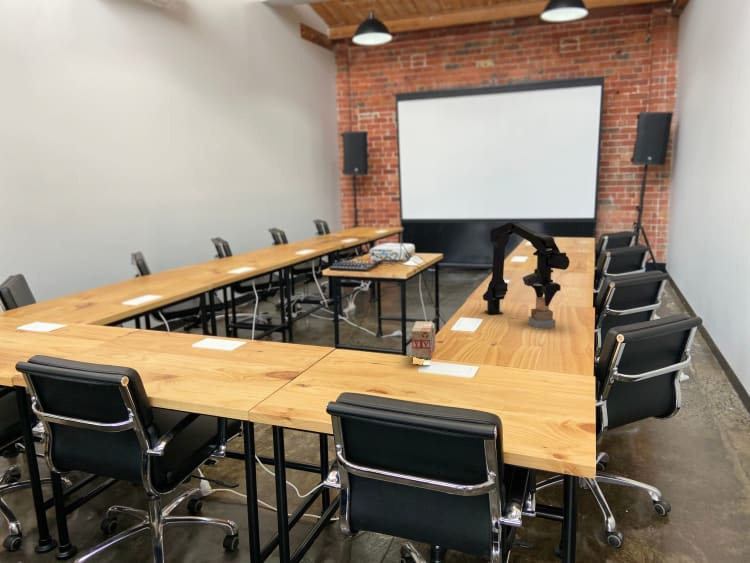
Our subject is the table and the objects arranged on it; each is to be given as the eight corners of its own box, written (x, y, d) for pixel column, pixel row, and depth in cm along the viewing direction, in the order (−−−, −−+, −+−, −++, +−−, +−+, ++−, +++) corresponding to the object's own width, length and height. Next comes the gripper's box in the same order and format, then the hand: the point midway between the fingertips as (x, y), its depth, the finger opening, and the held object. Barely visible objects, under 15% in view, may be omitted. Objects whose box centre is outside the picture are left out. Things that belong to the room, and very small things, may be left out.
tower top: (531, 317, 229) (531, 308, 229) (545, 315, 230) (545, 307, 230) (537, 320, 223) (537, 312, 222) (552, 319, 224) (552, 311, 223)
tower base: (528, 324, 230) (528, 316, 230) (546, 323, 231) (546, 315, 231) (536, 329, 223) (536, 321, 222) (555, 328, 224) (555, 320, 223)
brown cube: (533, 308, 228) (533, 297, 227) (545, 308, 229) (545, 296, 228) (539, 311, 223) (539, 300, 222) (550, 311, 224) (551, 299, 223)
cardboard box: (418, 346, 204) (417, 314, 201) (435, 347, 202) (434, 315, 200) (412, 365, 183) (411, 330, 181) (430, 366, 182) (430, 330, 180)
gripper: (516, 264, 231) (515, 300, 233) (534, 271, 212) (533, 310, 215) (541, 263, 232) (540, 299, 235) (561, 270, 214) (560, 308, 217)
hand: (543, 304), depth 225 cm, fingers open, 7 cm apart
